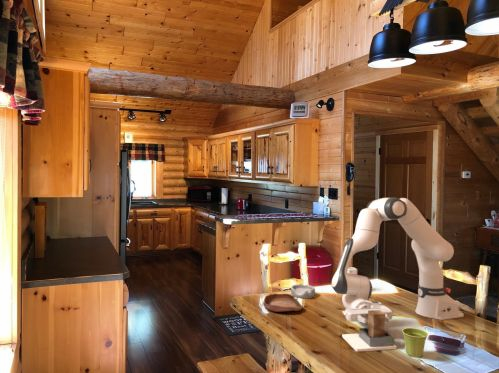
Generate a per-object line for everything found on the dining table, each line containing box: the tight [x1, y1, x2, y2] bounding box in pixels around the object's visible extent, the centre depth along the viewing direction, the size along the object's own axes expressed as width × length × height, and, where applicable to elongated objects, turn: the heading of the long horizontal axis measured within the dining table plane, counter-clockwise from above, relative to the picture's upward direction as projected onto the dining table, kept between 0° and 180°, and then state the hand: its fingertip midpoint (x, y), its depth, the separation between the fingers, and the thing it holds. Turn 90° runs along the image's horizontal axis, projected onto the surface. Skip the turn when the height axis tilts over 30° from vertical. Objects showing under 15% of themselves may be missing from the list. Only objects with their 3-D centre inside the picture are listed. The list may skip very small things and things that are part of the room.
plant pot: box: [401, 327, 429, 358], centre depth 158 cm, size 9×9×9 cm
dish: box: [290, 283, 316, 299], centre depth 236 cm, size 14×14×5 cm
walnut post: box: [367, 310, 386, 337], centre depth 169 cm, size 5×5×12 cm
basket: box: [263, 293, 304, 312], centre depth 213 cm, size 22×20×5 cm
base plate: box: [341, 333, 397, 353], centre depth 169 cm, size 17×15×1 cm
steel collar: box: [358, 327, 395, 347], centre depth 169 cm, size 10×10×4 cm
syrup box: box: [347, 266, 358, 275], centre depth 243 cm, size 6×6×14 cm
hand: (376, 320), depth 168 cm, fingers open, 8 cm apart
